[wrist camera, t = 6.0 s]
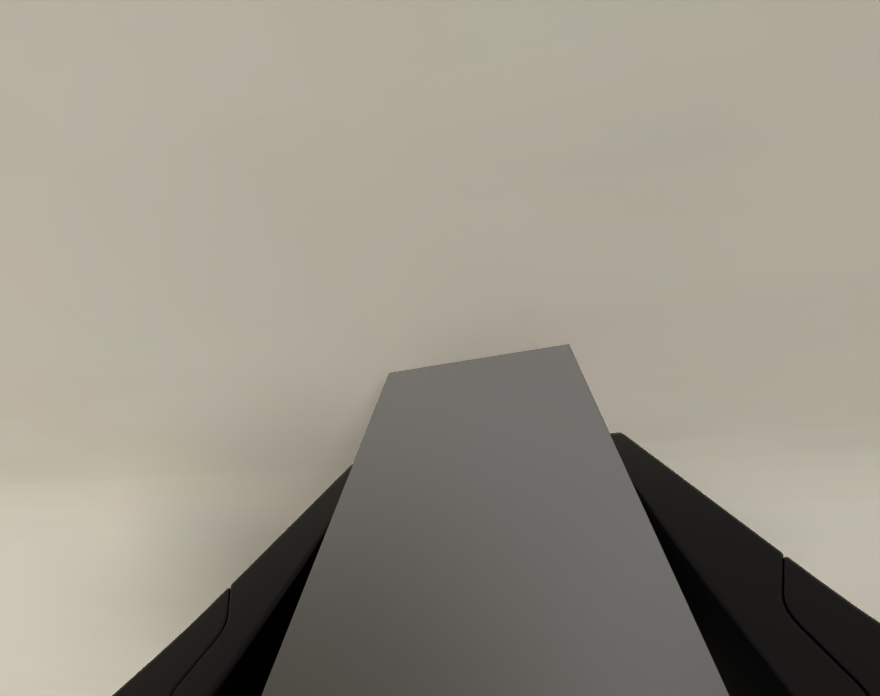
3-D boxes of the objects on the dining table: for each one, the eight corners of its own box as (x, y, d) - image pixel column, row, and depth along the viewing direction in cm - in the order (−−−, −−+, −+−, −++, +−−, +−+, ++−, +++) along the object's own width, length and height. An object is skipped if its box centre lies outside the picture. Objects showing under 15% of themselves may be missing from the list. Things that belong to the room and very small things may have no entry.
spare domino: (389, 373, 11) (185, 887, 3) (569, 344, 10) (851, 963, 3) (407, 425, 12) (276, 933, 4) (574, 403, 11) (796, 1001, 3)
